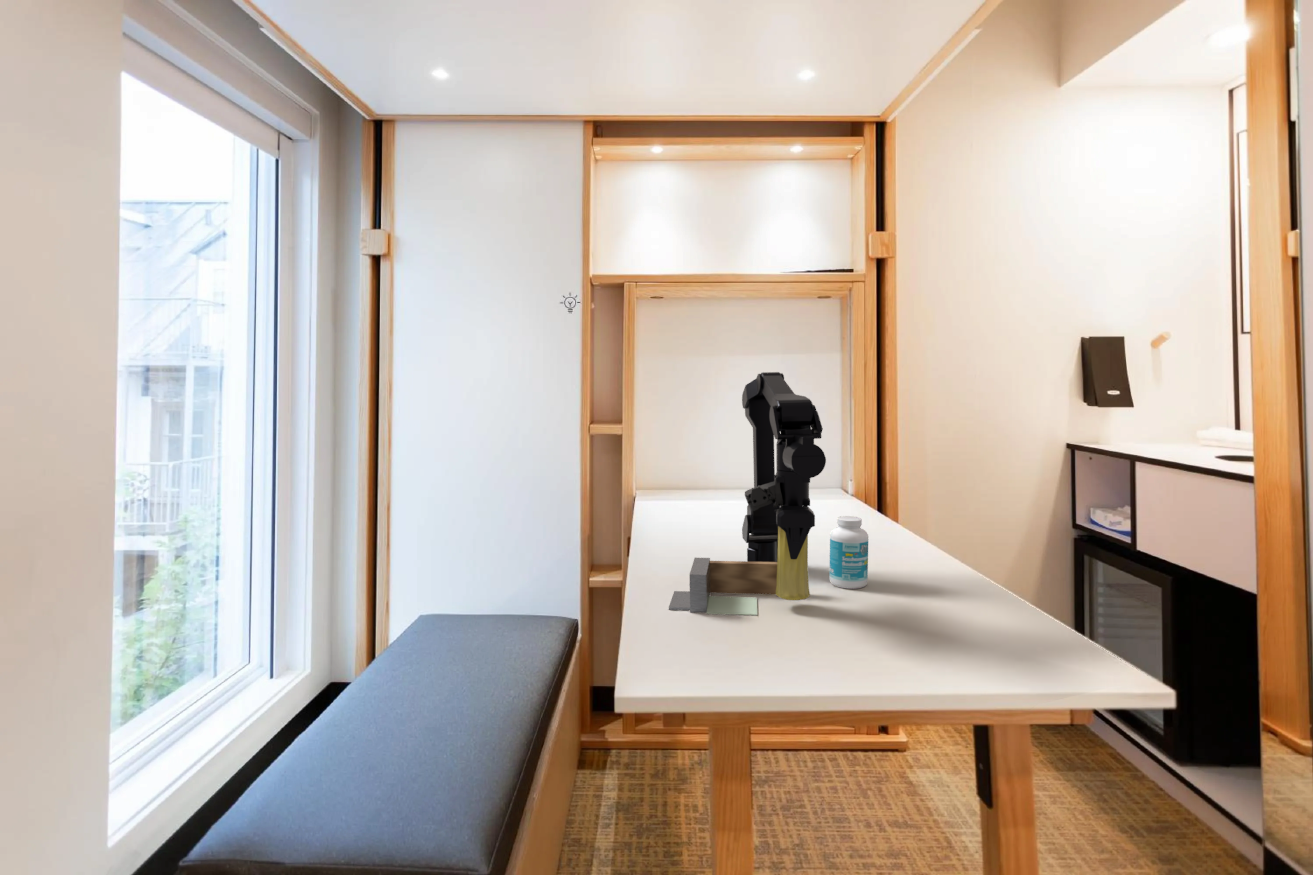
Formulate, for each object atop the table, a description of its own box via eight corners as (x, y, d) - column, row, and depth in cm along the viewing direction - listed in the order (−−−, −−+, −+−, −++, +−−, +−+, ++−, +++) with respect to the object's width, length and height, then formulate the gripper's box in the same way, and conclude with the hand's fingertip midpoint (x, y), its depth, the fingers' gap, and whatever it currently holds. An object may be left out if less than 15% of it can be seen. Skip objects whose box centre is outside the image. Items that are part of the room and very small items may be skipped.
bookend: (710, 592, 130) (710, 557, 130) (706, 612, 120) (706, 574, 119) (674, 591, 131) (674, 557, 131) (668, 611, 121) (667, 573, 120)
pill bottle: (843, 591, 129) (843, 523, 128) (822, 581, 136) (822, 516, 135) (875, 587, 132) (876, 520, 131) (853, 576, 139) (853, 512, 138)
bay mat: (756, 598, 127) (756, 597, 127) (757, 615, 118) (757, 614, 118) (709, 596, 128) (709, 595, 128) (706, 613, 119) (706, 612, 119)
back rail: (801, 592, 129) (801, 562, 129) (801, 595, 128) (801, 564, 127) (695, 589, 132) (695, 560, 132) (695, 592, 131) (694, 562, 130)
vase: (813, 591, 123) (813, 515, 121) (805, 602, 117) (806, 523, 116) (780, 587, 125) (780, 513, 124) (771, 598, 120) (771, 520, 118)
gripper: (747, 462, 129) (747, 540, 131) (746, 477, 111) (747, 568, 112) (806, 462, 128) (805, 541, 129) (815, 477, 109) (814, 570, 111)
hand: (792, 554), depth 120 cm, fingers closed on vase, 5 cm apart
